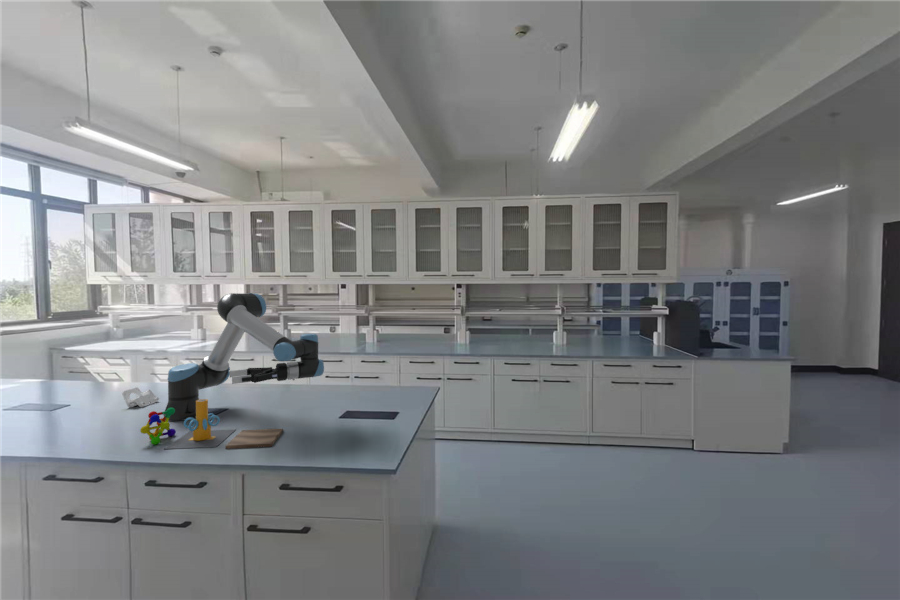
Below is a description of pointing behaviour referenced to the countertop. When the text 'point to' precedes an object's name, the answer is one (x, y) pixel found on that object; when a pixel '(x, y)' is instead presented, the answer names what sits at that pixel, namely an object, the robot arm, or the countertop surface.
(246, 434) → the board
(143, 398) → the mounting bracket
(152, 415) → the molecular model
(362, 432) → the countertop surface
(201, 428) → the cylinder
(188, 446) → the mat
